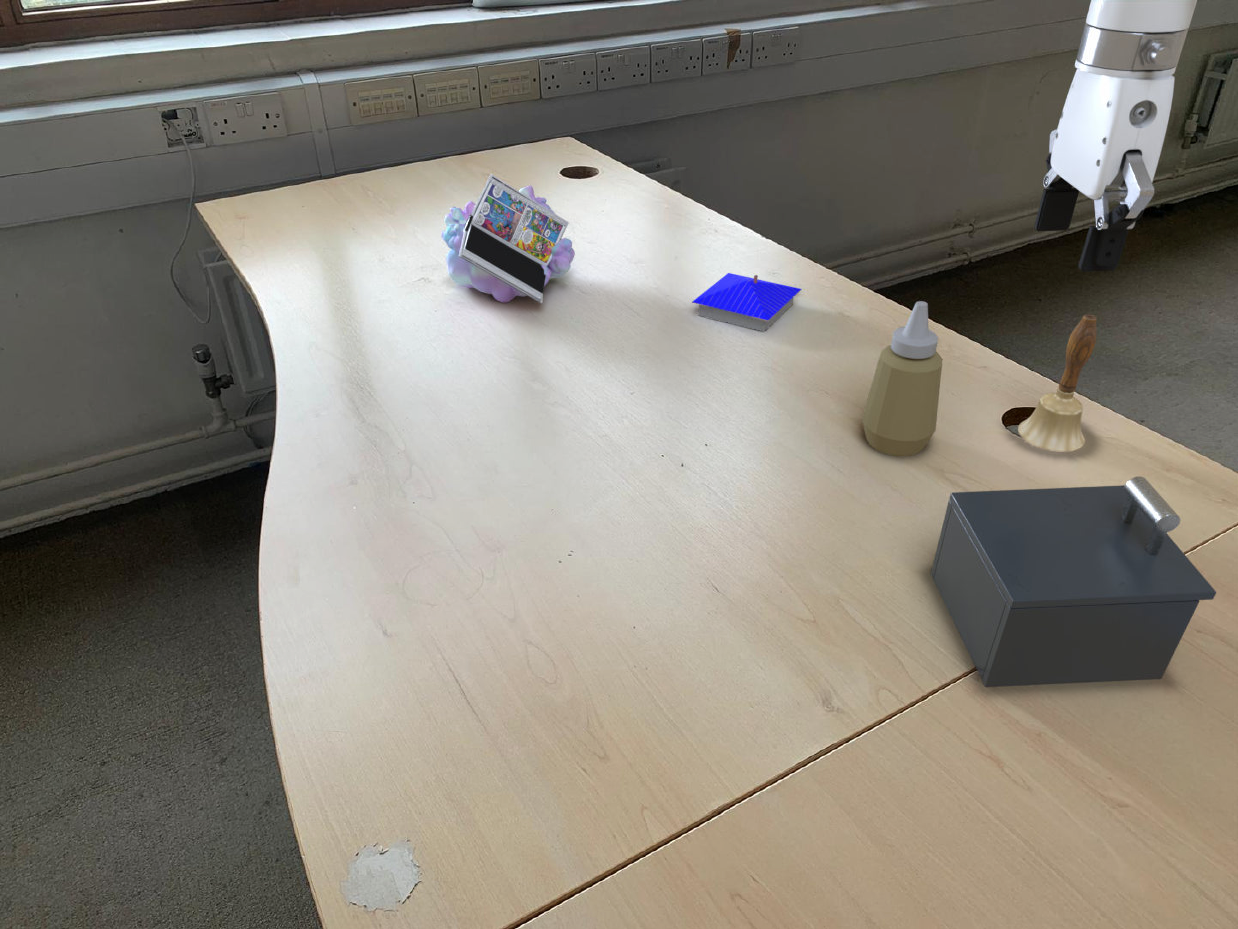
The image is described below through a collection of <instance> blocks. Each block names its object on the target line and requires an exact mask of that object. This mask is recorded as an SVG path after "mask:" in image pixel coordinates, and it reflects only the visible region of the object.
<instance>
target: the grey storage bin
mask: <svg viewBox="0 0 1238 929" xmlns="http://www.w3.org/2000/svg"><path fill="white" fill-rule="evenodd" d="M930 576H931V578H932V581H933V583H934V584H935V587H936V589H937V590H938V593H939V595H940V596H941V599H942V601H943V603H944V606H945V607H946V609H947V611H948V613H949V615H950V616H949V617H950V618H951V619H952V620H951V621H952V622H953V624H954V626H955V628H956V630H957V632H958V634H959V636H960V638H961V640H962V642H963V645H964V647H965V649H966V650H967V653H968V655H969V657H970V658H971V662H972V663H973V665H974V667H975V669H976V671H977V673H978V675H979V677H980V679H981V682H982V684H983V685H984V687H985V688H998V687H1000V688H1002V687H1019V686H1021V687H1022V686H1023V687H1024V686H1043V685H1064V684H1066V685H1067V684H1084V683H1087V684H1089V683H1106V682H1107V683H1108V682H1109V683H1110V682H1128V681H1149V680H1151V681H1152V680H1162V679H1163V676H1165V675H1164V674H1165V673H1166V671H1167V668H1168V666H1169V664H1170V663H1171V660H1172V659H1173V656H1174V654H1175V652H1176V651H1177V649H1178V646H1179V644H1180V642H1181V640H1182V638H1183V636H1184V634H1185V632H1186V630H1187V627H1188V626H1189V624H1190V622H1191V620H1192V618H1193V616H1194V613H1195V612H1196V610H1197V608H1198V606H1199V603H1200V600H1191V601H1169V602H1147V603H1124V604H1102V605H1079V606H1057V607H1035V608H1010V606H1009V604H1008V602H1007V601H1006V599H1005V597H1004V595H1003V593H1002V592H1001V590H1000V588H999V586H998V585H997V583H996V581H995V579H994V578H993V576H992V574H991V572H990V570H989V569H988V567H987V565H986V563H985V562H984V560H983V558H982V556H981V555H980V553H979V551H978V549H977V547H976V546H975V544H974V542H973V540H972V539H971V537H970V535H969V533H968V532H967V530H966V528H965V526H964V524H963V523H962V521H961V519H960V517H959V516H958V514H957V512H956V510H955V509H954V507H953V505H952V503H951V502H950V500H949V499H948V502H947V506H946V510H945V513H944V518H943V522H942V526H941V531H940V534H939V539H938V543H937V546H936V551H935V554H934V558H933V563H932V567H931V570H930Z"/></svg>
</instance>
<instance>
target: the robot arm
mask: <svg viewBox="0 0 1238 929" xmlns="http://www.w3.org/2000/svg"><path fill="white" fill-rule="evenodd" d="M1197 3H1198V0H1090V3H1089V8H1088V12H1087V15H1086V19H1085V23H1084V26H1083V31H1082V34H1081V37H1080V38H1081V39H1080V43H1079V47H1078V49H1077V50H1078V51H1077V55H1076V59H1075V63H1074V68H1076V71H1075V73H1074V76H1073V79H1072V82H1071V84H1070V87H1069V89H1068V93H1067V96H1066V98H1065V102H1064V105H1063V108H1062V111H1061V115H1060V117H1059V121H1058V125H1057V128H1056V129H1053V130H1052V131H1051V132H1050V134H1049V143H1048V144H1049V146H1048V148H1049V149H1048V155H1047V157H1046V159H1045V164H1046V168H1047V172H1046V175H1044V178H1043V181H1042V182H1043V187H1044V188H1043V191H1042V194H1041V199H1040V202H1039V207H1038V211H1037V215H1036V218H1035V221H1034V222H1035V223H1034V229H1035V230H1036V231H1037V232H1063V231H1064V232H1065V231H1067V230H1068V229H1069V228H1070V227H1071V224H1072V219H1073V215H1074V212H1075V208H1076V204H1077V200H1078V198H1079V195H1080V193H1081V194H1083V195H1084V196H1086V197H1087V198H1089V199H1091V200H1093V205H1094V215H1095V216H1094V217H1095V225H1089V228H1088V232H1087V234H1086V238H1085V241H1084V246H1083V249H1082V252H1081V256H1080V259H1079V262H1078V269H1079V271H1081V272H1083V273H1084V272H1086V273H1088V272H1089V273H1090V272H1113V271H1116V269H1117V268H1118V267H1119V264H1120V263H1119V262H1120V260H1121V257H1122V254H1123V250H1124V247H1125V244H1126V241H1127V237H1128V235H1129V231H1130V230H1132V229H1134V228H1135V226H1136V222H1137V221H1139V219H1141V217H1142V216H1143V214H1144V212H1145V209H1146V208H1147V206H1148V204H1149V203H1150V202H1151V200H1152V199H1153V198H1154V196H1155V186H1154V184H1153V181H1154V178H1155V175H1156V171H1157V168H1158V164H1159V161H1160V156H1161V154H1162V149H1163V145H1164V141H1165V138H1166V133H1167V128H1168V124H1169V119H1170V115H1171V114H1170V113H1171V110H1172V104H1173V103H1172V102H1173V97H1174V90H1175V78H1176V77H1175V76H1173V75H1174V74H1175V72H1176V69H1177V66H1178V63H1179V61H1180V57H1181V55H1182V50H1183V48H1184V45H1185V42H1186V39H1187V35H1188V31H1189V28H1190V25H1191V22H1192V19H1193V15H1194V11H1195V9H1196V7H1197ZM1106 189H1108V190H1106ZM1109 189H1111V190H1109ZM1112 189H1113V190H1112ZM1114 189H1115V190H1114ZM1116 202H1119V204H1118V205H1116V207H1114V208H1113V209H1112V210H1111V211H1110V209H1109V208H1110V207H1109V203H1116Z"/></svg>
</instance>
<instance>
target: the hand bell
mask: <svg viewBox="0 0 1238 929" xmlns="http://www.w3.org/2000/svg"><path fill="white" fill-rule="evenodd" d="M1097 320H1098V319H1097V316H1096V315H1094V314H1092V313H1091V314H1090V313H1088V314H1084V315H1083V316H1082V318H1081V320H1080V321H1079V322H1078V323H1077V325H1076V326H1075V328H1074V329H1073V330H1072V332H1071V334H1070V336H1069V338H1068V341H1067V344H1066V348H1065V349H1066V350H1065V367H1064V371H1063V374H1062V377H1061V379H1060V382H1059V383H1058V387H1057V390H1056V391H1055V392H1048V393H1045V394H1043V395H1042V396H1041V398H1040V399H1039V400H1038V403H1037V405H1036V408H1035V409H1034V411H1033V412H1032V413H1031V415H1030V416H1029V417H1027V419H1025V420H1023V421H1021V422H1020V423H1019V425H1018V426H1017V431H1018V434H1019V436H1020V437H1021V438H1022V439H1023V440H1024V441H1025V442H1027V443H1029V444H1030V445H1031V446H1034V447H1037V448H1039V449H1042V450H1046V451H1051V452H1057V453H1068V452H1073V451H1076V450H1079V449H1080V448H1082V447H1083V446H1084V445H1085V436H1084V435H1083V432H1082V428H1081V427H1082V426H1081V424H1082V422H1081V421H1082V415H1083V411H1084V406H1083V404H1082V402H1081V400H1079V399H1078V398H1076V397H1075V396H1074V395H1075V391H1076V389H1077V385H1078V381H1079V379H1080V378H1079V377H1080V374H1081V371H1082V369H1083V367H1084V366H1085V365H1086V364H1087V362H1088V361H1089V360H1090V358H1091V356H1092V354H1093V351H1094V349H1095V346H1096V343H1097V338H1098V336H1097V335H1098V331H1097Z"/></svg>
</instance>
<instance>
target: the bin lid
mask: <svg viewBox="0 0 1238 929" xmlns="http://www.w3.org/2000/svg"><path fill="white" fill-rule="evenodd" d="M949 500H950V502H951V503H952V505H953V507H954V509H955V510H956V512H957V514H958V516H959V517H960V519H961V521H962V523H963V524H964V526H965V528H966V530H967V532H968V533H969V535H970V537H971V539H972V540H973V542H974V544H975V546H976V547H977V549H978V551H979V553H980V555H981V556H982V558H983V560H984V562H985V563H986V565H987V567H988V569H989V570H990V572H991V574H992V576H993V578H994V579H995V581H996V583H997V585H998V586H999V588H1000V590H1001V592H1002V593H1003V595H1004V597H1005V599H1006V601H1007V602H1008V604H1009V606H1010V608H1035V607H1057V606H1079V605H1102V604H1124V603H1147V602H1169V601H1191V600H1199V601H1211V600H1214V599H1215V596H1216V595H1217V591H1216V589H1214V588H1213V586H1212V585H1211V584H1210V583H1209V581H1208V580H1207V579H1206V578H1205V577H1204V575H1203V574H1202V573H1201V572H1200V571H1199V569H1198V568H1197V567H1196V566H1195V565H1194V563H1192V561H1191V559H1189V558H1188V557H1187V555H1186V554H1185V553H1184V552H1183V551H1182V550H1181V548H1180V547H1179V546H1178V544H1176V542H1175V541H1174V540H1173V538H1171V536H1170V535H1169V534H1168V533H1170V532H1172V531H1173V530H1175V529H1177V528H1178V526H1179V525H1180V523H1181V518H1180V516H1179V515H1178V514H1177V512H1176V511H1175V510H1174V509H1173V508H1172V507H1171V505H1170V504H1169V503H1168V502H1167V501H1166V500H1165V499H1164V498H1163V496H1162V495H1161V494H1160V493H1159V492H1158V491H1157V490H1156V489H1155V488H1154V486H1152V484H1151V483H1150V482H1149V480H1148V479H1147V478H1145V476H1139V475H1138V476H1134V477H1132V478H1130V479H1129V480H1127V481H1126V483H1125V484H1123V485H1101V486H1100V485H1097V486H1078V487H1077V486H1076V487H1052V488H1051V487H1050V488H1029V489H1028V488H1027V489H1025V488H1024V489H1003V490H1001V489H1000V490H979V491H955V492H950V495H949V499H948V501H949Z"/></svg>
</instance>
